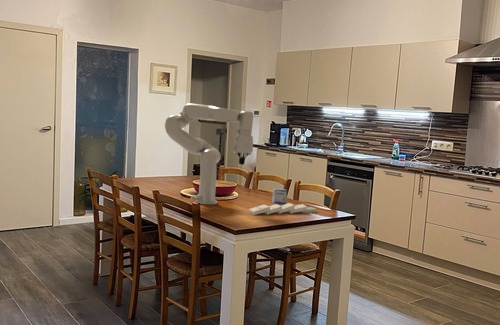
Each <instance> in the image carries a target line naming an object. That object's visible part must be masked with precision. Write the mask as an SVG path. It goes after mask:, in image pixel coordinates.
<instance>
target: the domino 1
mask: <svg viewBox="0 0 500 325" xmlns="http://www.w3.org/2000/svg"><path fill="white" fill-rule="evenodd" d="M269 206H270V205H266V204H261V205H258V206H256V207H251V208H249V209H248V212H249V214H251V215H253V216H256V215H258V214H262V213H263V212H266V211H269V210H270V207H269ZM263 214H264V213H263Z"/></svg>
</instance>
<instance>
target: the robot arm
mask: <svg viewBox="0 0 500 325" xmlns="http://www.w3.org/2000/svg"><path fill="white" fill-rule="evenodd" d="M196 119H197V120H205V121H216V122H221V123H222V122H224V123H230V124H231V123H238V124H239V125H238V129H236V133H237V134H236V137H235V141H234V147H233V148H234V149H233V154H235V155H237V156H238V164H239V165H242V166H243V165H245V162H246V158H247V157H248V156H251V155H252V153H253V152H254V150H253V149H254V138H253V137H254V136H253V135H252V130H253V124H254V123H253V122H254V112H252V111H247V110H238V109H234V108H232V109H231V108H226V107H225V108H223V107H217V106H214V105H208V104H199V103H198V104H197V103H193V102H192V103H190V102H189V103H186V104H185V105H184V106H183V108H182V111H181V112H180V113H178V114H172V115H169V116H168V117H167V118H165V122H164V128H165V132H166V134H167V135H168V137H169V138H170V139H171V140H172V141H173V142H175V143H177V145H179V146H180V147H181V148H183V149H184V150H185V151H187V152H188V153H189V154H192V155H197V156H199V163H200V165H199V167H200V169H199V170H200V171H199V172H200V173H199V188H198V194H196V195H191V196H190V200H195V203H196V202H197V203H196V204H199V203H200V205H217V204H218V200H216V186H217V164H218V163H219V162H220V160H221V157H222V156H221V153H220V151H219V150H218V148H216V147H214V146H213V145H212V144H210V142H209V143H208V142H207V141H206V140H205V139H203V138H200V137H194V136H193V135H191V134H190V133H189V132H187V131H186V130H184V129H183V128H186V126H188V125H189V124H191V123H192V122H193V121H195V120H196Z"/></svg>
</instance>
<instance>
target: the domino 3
mask: <svg viewBox="0 0 500 325" xmlns="http://www.w3.org/2000/svg"><path fill="white" fill-rule="evenodd" d="M281 206H282V210H280V211H277V212H276V213H277V214H282V213H283V214H284V213H285V212H288V211H289V210H292V209H295V207H294V206H295V205H294V204H293V203H291V202H288V203H286V204H281Z"/></svg>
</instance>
